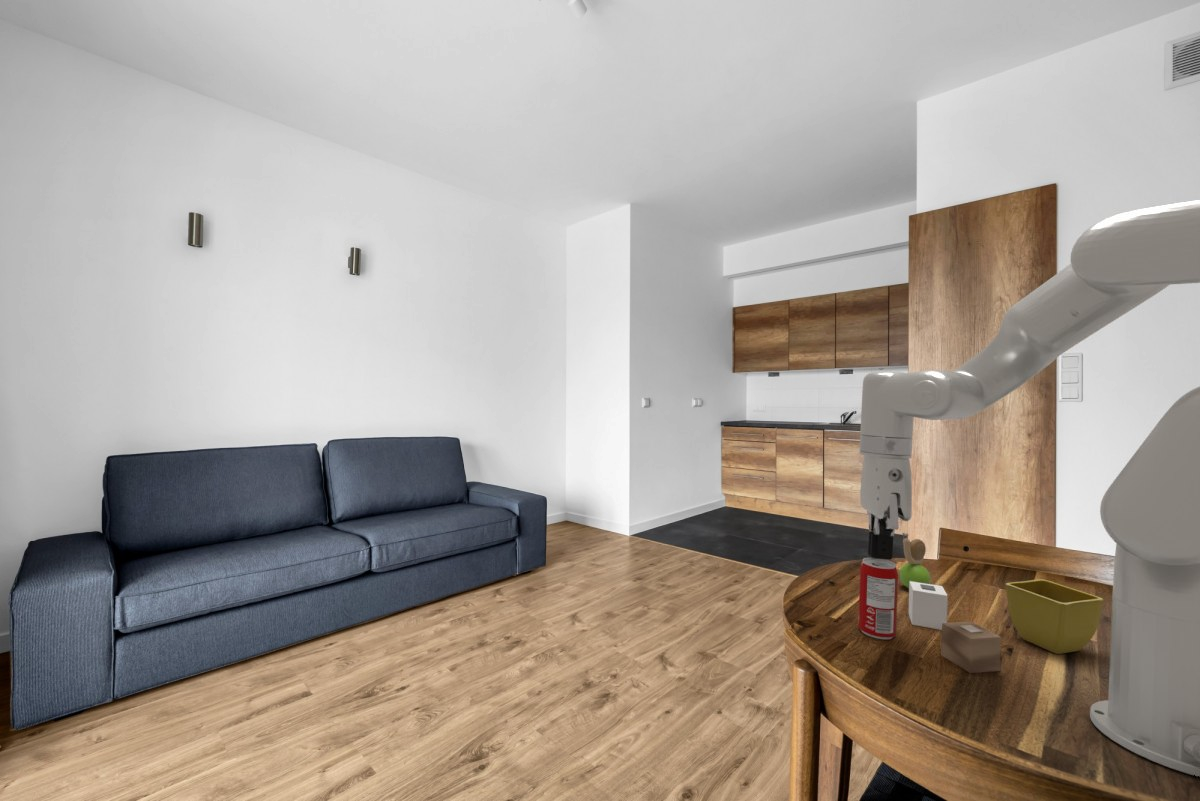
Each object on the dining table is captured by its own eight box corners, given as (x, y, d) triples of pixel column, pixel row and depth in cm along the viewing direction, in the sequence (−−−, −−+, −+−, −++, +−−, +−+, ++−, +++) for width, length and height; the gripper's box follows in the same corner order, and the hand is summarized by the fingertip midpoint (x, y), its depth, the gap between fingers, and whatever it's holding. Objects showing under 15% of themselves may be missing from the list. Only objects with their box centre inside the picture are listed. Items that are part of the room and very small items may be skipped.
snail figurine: (889, 587, 105) (891, 529, 105) (910, 583, 108) (911, 527, 108) (915, 597, 100) (917, 536, 100) (936, 592, 103) (938, 533, 103)
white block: (946, 631, 86) (947, 594, 86) (911, 624, 88) (913, 589, 88) (941, 619, 90) (942, 585, 90) (908, 613, 93) (909, 579, 92)
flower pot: (1062, 663, 76) (1064, 603, 76) (1001, 636, 84) (1003, 582, 84) (1103, 656, 78) (1105, 598, 78) (1040, 631, 87) (1042, 578, 87)
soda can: (876, 623, 88) (878, 554, 88) (903, 638, 83) (906, 564, 83) (850, 627, 86) (852, 556, 86) (877, 642, 81) (879, 567, 81)
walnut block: (999, 671, 73) (1001, 635, 73) (970, 673, 73) (971, 637, 72) (969, 653, 78) (970, 620, 78) (940, 655, 77) (942, 621, 77)
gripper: (931, 453, 76) (924, 575, 76) (892, 443, 91) (887, 546, 91) (876, 450, 77) (870, 570, 78) (847, 441, 92) (842, 542, 92)
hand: (879, 557), depth 84 cm, fingers closed
